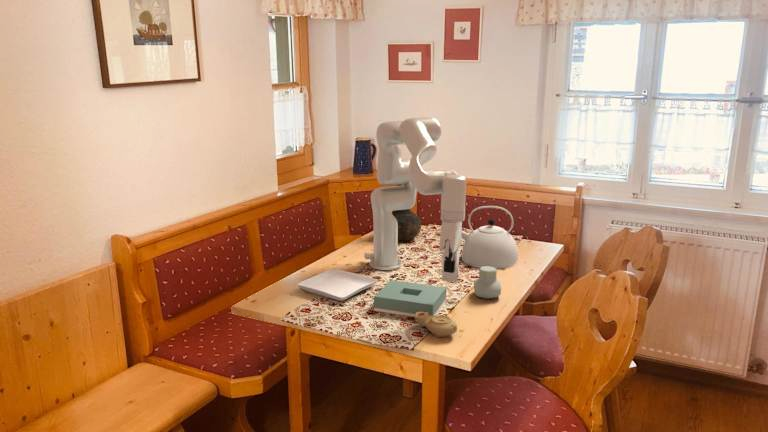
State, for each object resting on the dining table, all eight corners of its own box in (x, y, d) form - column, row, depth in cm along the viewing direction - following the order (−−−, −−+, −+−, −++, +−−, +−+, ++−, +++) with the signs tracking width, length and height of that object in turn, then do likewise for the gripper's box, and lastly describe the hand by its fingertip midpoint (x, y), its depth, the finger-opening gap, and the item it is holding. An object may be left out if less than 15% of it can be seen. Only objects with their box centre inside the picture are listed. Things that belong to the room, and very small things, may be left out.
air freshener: (472, 289, 223) (473, 263, 221) (496, 289, 223) (497, 263, 221) (477, 301, 213) (478, 274, 210) (501, 301, 213) (502, 274, 210)
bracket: (441, 280, 200) (443, 250, 197) (444, 277, 202) (445, 247, 200) (455, 282, 198) (457, 252, 195) (458, 279, 201) (459, 249, 198)
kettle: (454, 266, 248) (455, 211, 242) (458, 249, 269) (459, 198, 263) (518, 270, 243) (521, 214, 237) (517, 252, 265) (520, 200, 259)
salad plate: (379, 287, 226) (379, 278, 226) (342, 306, 210) (342, 297, 209) (333, 275, 238) (333, 267, 237) (295, 293, 221) (295, 283, 220)
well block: (374, 310, 205) (374, 296, 204) (390, 293, 220) (390, 280, 219) (432, 319, 199) (433, 304, 197) (445, 301, 213) (446, 287, 212)
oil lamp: (416, 321, 197) (416, 306, 196) (461, 327, 193) (462, 312, 192) (407, 335, 188) (407, 320, 186) (454, 342, 183) (454, 326, 182)
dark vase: (403, 230, 296) (403, 172, 289) (429, 239, 283) (430, 178, 276) (373, 237, 285) (373, 177, 278) (399, 246, 272) (400, 183, 265)
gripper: (447, 207, 203) (445, 260, 208) (433, 220, 188) (431, 277, 193) (470, 209, 200) (467, 263, 205) (458, 222, 186) (455, 280, 191)
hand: (450, 269), depth 199 cm, fingers closed on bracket, 3 cm apart
